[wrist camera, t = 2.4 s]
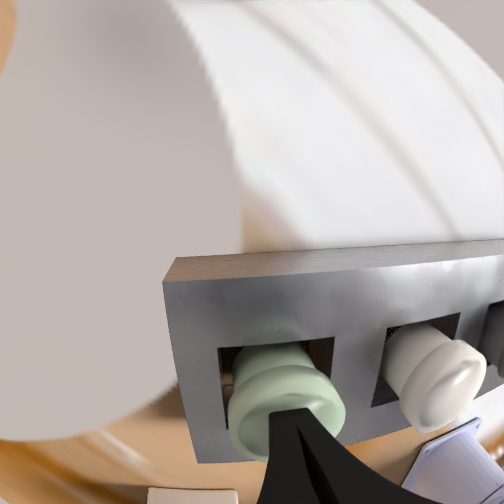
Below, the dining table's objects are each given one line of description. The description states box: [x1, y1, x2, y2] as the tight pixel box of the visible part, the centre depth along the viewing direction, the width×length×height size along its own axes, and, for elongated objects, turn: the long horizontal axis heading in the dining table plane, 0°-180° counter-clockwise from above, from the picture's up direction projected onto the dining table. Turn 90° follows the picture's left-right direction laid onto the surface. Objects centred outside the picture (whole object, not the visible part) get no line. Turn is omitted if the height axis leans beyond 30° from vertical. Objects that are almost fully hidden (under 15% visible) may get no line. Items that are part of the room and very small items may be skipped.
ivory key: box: [379, 321, 486, 433], centre depth 11 cm, size 4×4×4 cm
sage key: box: [228, 341, 346, 462], centre depth 11 cm, size 4×4×4 cm
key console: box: [162, 239, 504, 463], centre depth 14 cm, size 10×22×4 cm, turn 92°
